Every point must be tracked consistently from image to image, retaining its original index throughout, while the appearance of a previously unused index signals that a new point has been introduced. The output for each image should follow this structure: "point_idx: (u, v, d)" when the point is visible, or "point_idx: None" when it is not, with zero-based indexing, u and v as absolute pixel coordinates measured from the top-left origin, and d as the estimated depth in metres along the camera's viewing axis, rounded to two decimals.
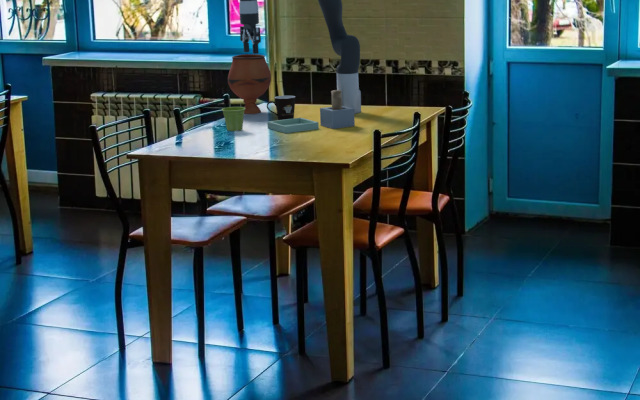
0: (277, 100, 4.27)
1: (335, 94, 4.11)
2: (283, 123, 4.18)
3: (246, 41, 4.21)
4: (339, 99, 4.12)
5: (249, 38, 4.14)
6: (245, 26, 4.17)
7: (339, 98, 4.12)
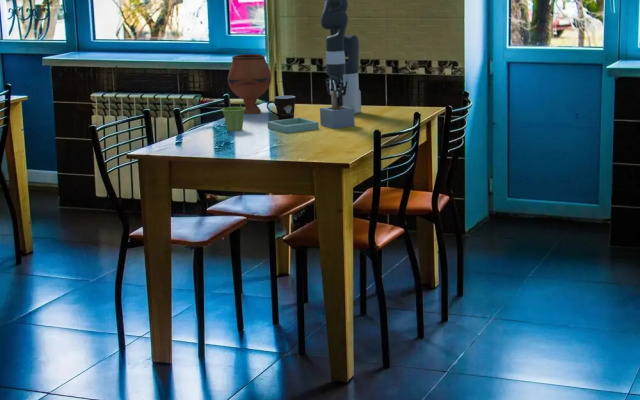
0: (277, 100, 4.27)
1: (335, 94, 4.11)
2: (283, 123, 4.18)
3: None
4: None
5: (334, 89, 4.11)
6: (331, 76, 4.12)
7: None
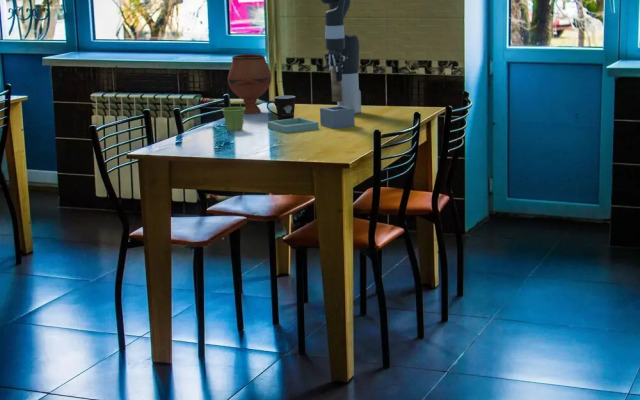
0: (277, 100, 4.27)
1: (335, 69, 4.09)
2: (283, 123, 4.18)
3: None
4: None
5: (334, 64, 4.08)
6: (330, 51, 4.10)
7: None
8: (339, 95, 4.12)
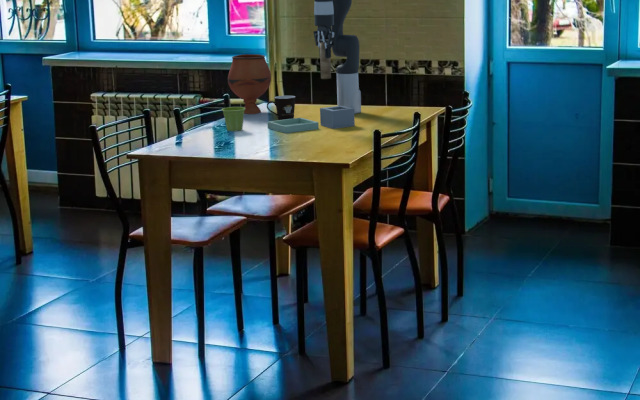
0: (277, 100, 4.27)
1: (324, 46, 4.06)
2: (283, 123, 4.18)
3: None
4: None
5: (323, 41, 4.05)
6: (319, 28, 4.07)
7: None
8: (328, 72, 4.08)
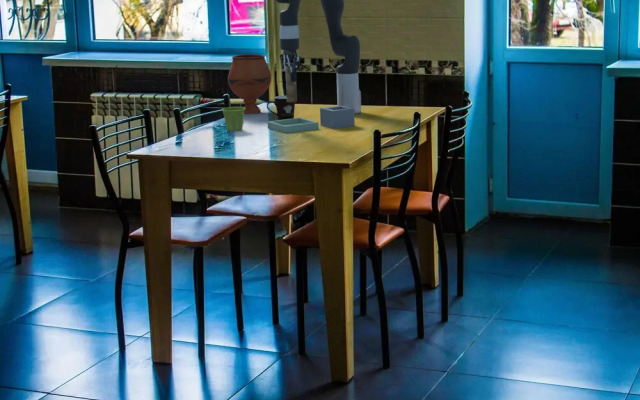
0: (277, 100, 4.27)
1: (289, 69, 4.06)
2: (283, 123, 4.18)
3: None
4: None
5: (288, 64, 4.05)
6: (285, 51, 4.07)
7: None
8: (293, 95, 4.08)
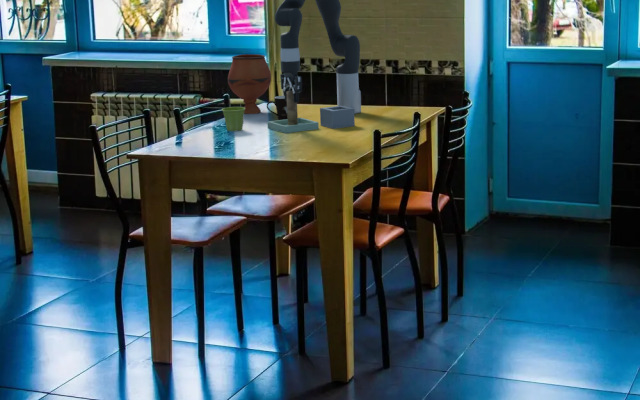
0: (277, 100, 4.27)
1: (290, 95, 4.08)
2: (283, 123, 4.18)
3: (287, 89, 4.13)
4: None
5: (290, 86, 4.07)
6: (286, 74, 4.09)
7: None
8: (294, 120, 4.11)
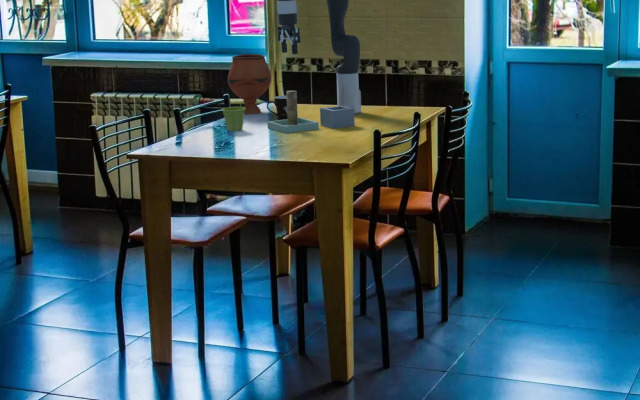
0: (277, 100, 4.27)
1: (290, 94, 4.08)
2: (283, 123, 4.18)
3: (284, 41, 4.15)
4: (294, 99, 4.09)
5: (288, 38, 4.08)
6: (283, 26, 4.11)
7: (294, 98, 4.09)
8: (294, 120, 4.11)
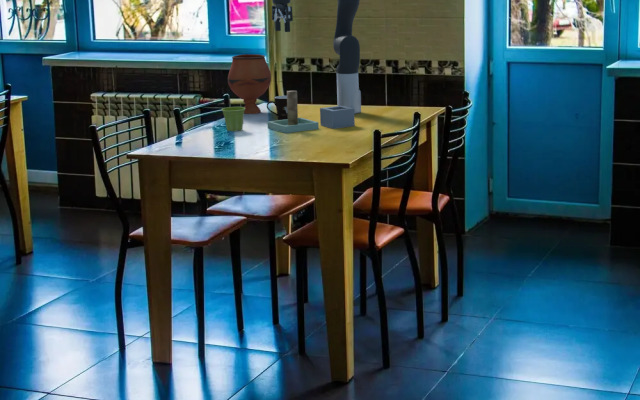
0: (277, 100, 4.27)
1: (291, 95, 4.08)
2: (283, 123, 4.18)
3: (278, 20, 4.35)
4: (294, 100, 4.09)
5: (281, 17, 4.28)
6: (277, 5, 4.31)
7: (294, 99, 4.09)
8: (295, 120, 4.11)
